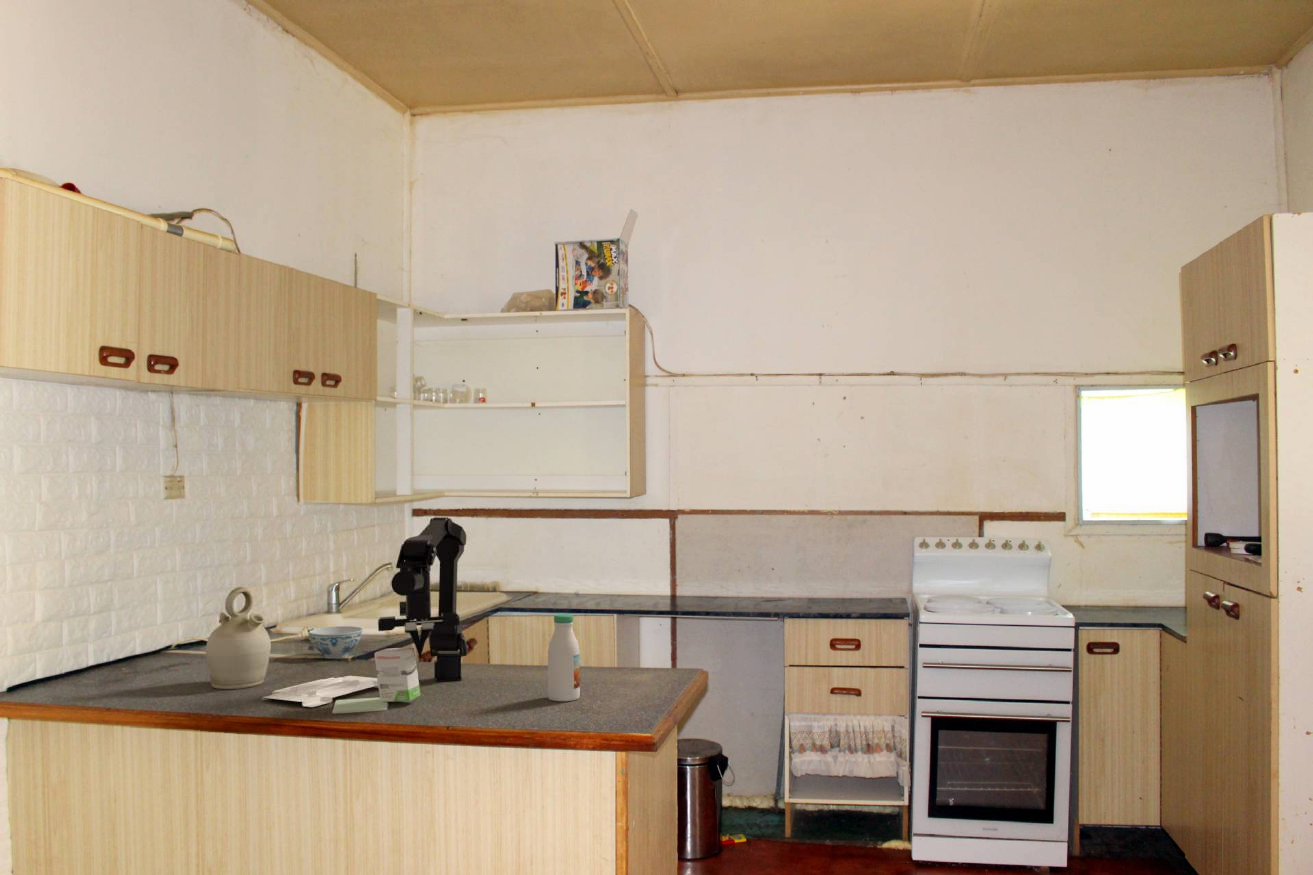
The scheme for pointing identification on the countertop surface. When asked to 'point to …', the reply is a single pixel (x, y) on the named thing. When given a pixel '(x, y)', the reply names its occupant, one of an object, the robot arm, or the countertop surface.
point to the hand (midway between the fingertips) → (419, 658)
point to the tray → (323, 690)
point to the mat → (359, 705)
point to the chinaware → (335, 640)
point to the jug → (238, 646)
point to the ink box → (397, 674)
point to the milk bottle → (563, 661)
